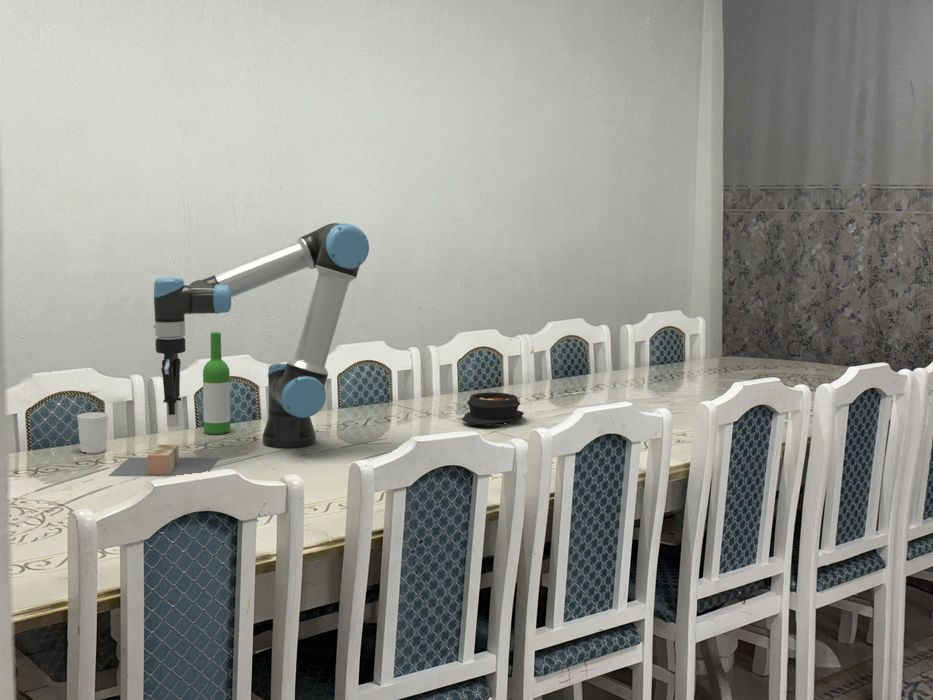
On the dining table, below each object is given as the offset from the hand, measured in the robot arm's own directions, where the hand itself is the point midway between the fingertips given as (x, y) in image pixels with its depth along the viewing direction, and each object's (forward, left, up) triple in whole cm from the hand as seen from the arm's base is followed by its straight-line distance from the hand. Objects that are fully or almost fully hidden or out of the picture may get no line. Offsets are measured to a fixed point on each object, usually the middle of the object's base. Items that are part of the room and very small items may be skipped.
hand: (173, 425), depth 285 cm
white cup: (+24, -12, -10) cm, 29 cm away
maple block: (0, +4, -7) cm, 8 cm away
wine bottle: (-5, -37, -10) cm, 38 cm away
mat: (0, +7, -10) cm, 12 cm away
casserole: (-89, -56, -10) cm, 105 cm away
